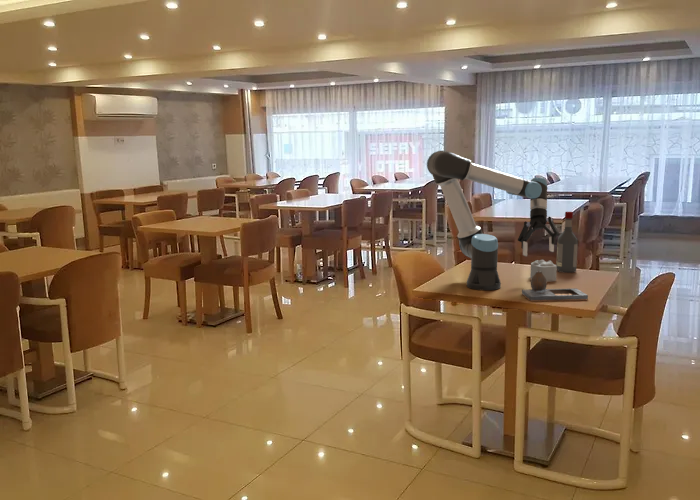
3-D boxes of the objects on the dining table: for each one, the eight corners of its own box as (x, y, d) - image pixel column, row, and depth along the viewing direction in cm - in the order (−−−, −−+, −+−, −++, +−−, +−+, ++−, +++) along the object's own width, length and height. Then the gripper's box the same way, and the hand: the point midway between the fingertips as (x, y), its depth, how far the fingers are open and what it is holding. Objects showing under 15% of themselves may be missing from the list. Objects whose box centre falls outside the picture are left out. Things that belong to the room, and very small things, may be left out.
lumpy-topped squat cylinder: (539, 282, 291) (540, 264, 290) (525, 276, 304) (525, 259, 302) (559, 280, 294) (559, 262, 292) (544, 275, 306) (545, 258, 305)
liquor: (574, 269, 319) (577, 211, 313) (576, 272, 310) (579, 213, 305) (555, 268, 321) (558, 210, 315) (557, 272, 312) (560, 213, 307)
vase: (547, 289, 276) (548, 270, 275) (545, 293, 270) (546, 273, 269) (531, 288, 279) (532, 269, 278) (529, 292, 273) (529, 272, 272)
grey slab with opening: (530, 301, 258) (531, 296, 257) (521, 294, 270) (522, 289, 269) (587, 299, 259) (587, 295, 258) (576, 292, 270) (576, 288, 270)
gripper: (567, 207, 284) (567, 251, 278) (519, 217, 302) (518, 259, 296) (558, 202, 279) (558, 247, 273) (511, 212, 297) (509, 255, 291)
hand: (538, 253), depth 284 cm, fingers open, 13 cm apart
